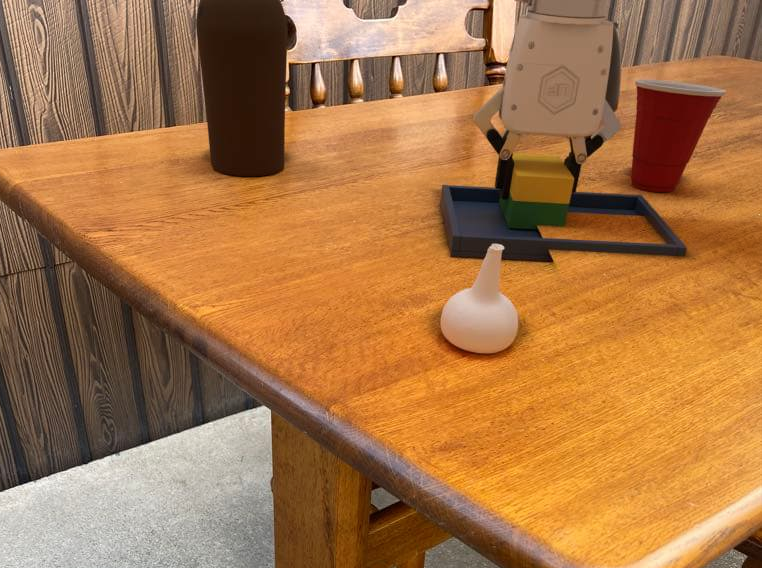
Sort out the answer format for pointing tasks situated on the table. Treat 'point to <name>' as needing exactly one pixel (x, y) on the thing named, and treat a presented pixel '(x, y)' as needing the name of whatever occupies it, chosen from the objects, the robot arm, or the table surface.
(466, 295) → the garlic bulb
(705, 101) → the plastic cup
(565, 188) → the sponge
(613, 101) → the grey rounded egg shape
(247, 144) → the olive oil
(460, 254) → the tray
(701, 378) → the table surface
